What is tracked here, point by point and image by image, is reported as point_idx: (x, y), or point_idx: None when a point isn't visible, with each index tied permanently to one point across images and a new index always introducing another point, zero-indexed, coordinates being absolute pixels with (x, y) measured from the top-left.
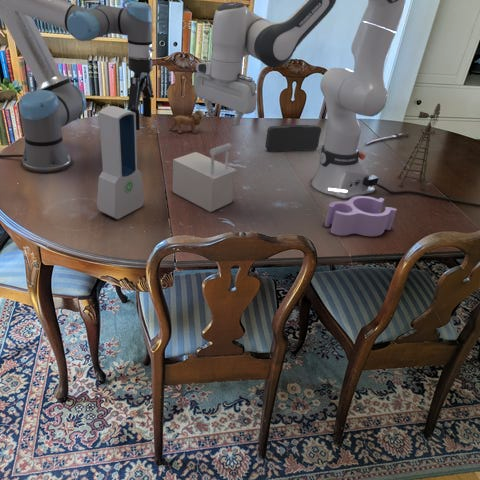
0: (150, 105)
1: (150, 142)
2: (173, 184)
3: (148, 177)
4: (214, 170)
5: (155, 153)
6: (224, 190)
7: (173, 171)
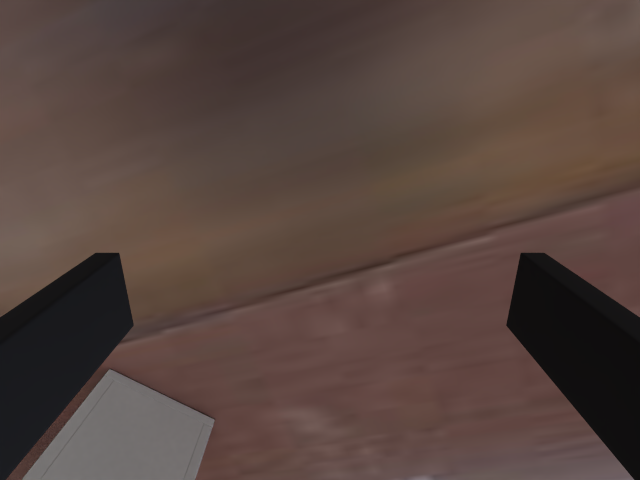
0: (588, 422)
1: (623, 146)
2: (88, 396)
3: (191, 256)
4: None
5: (469, 213)
6: None
7: (49, 445)
